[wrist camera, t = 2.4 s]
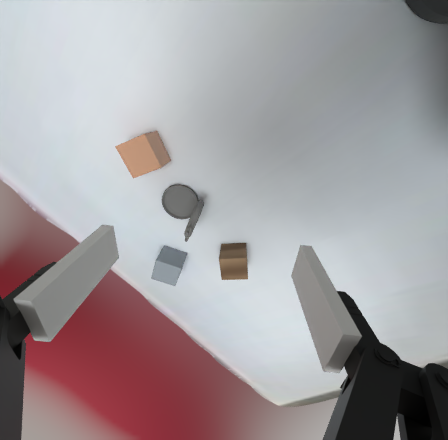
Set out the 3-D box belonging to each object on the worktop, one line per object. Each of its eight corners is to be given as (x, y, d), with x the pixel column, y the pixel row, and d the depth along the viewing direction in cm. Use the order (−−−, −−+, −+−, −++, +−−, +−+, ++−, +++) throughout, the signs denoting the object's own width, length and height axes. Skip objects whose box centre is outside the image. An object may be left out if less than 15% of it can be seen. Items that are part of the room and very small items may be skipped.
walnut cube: (221, 243, 43) (219, 258, 39) (246, 242, 42) (246, 258, 38) (223, 263, 45) (221, 279, 41) (247, 262, 45) (247, 279, 40)
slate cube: (164, 245, 44) (155, 260, 40) (187, 252, 45) (181, 268, 40) (159, 262, 47) (151, 278, 42) (181, 269, 47) (175, 286, 43)
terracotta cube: (131, 141, 35) (115, 146, 31) (157, 130, 34) (144, 133, 30) (146, 170, 37) (133, 178, 33) (171, 160, 36) (161, 167, 32)
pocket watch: (158, 186, 38) (133, 210, 29) (203, 179, 37) (191, 201, 28) (171, 225, 42) (152, 256, 33) (213, 220, 41) (204, 251, 32)
